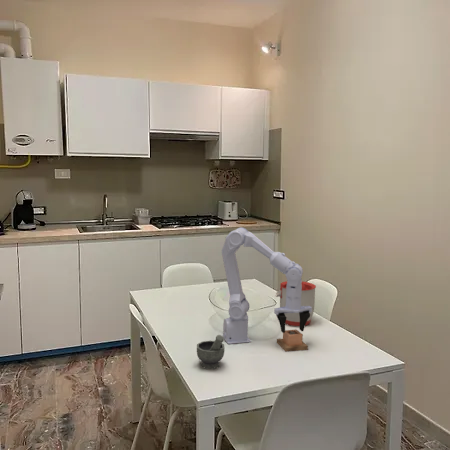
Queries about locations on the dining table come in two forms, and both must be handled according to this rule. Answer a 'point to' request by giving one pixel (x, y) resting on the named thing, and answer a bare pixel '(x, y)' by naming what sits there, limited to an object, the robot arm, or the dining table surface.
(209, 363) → the mortar and pestle
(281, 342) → the post stand
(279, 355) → the dining table surface
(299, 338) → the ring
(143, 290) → the dining table surface
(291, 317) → the citrus juicer
